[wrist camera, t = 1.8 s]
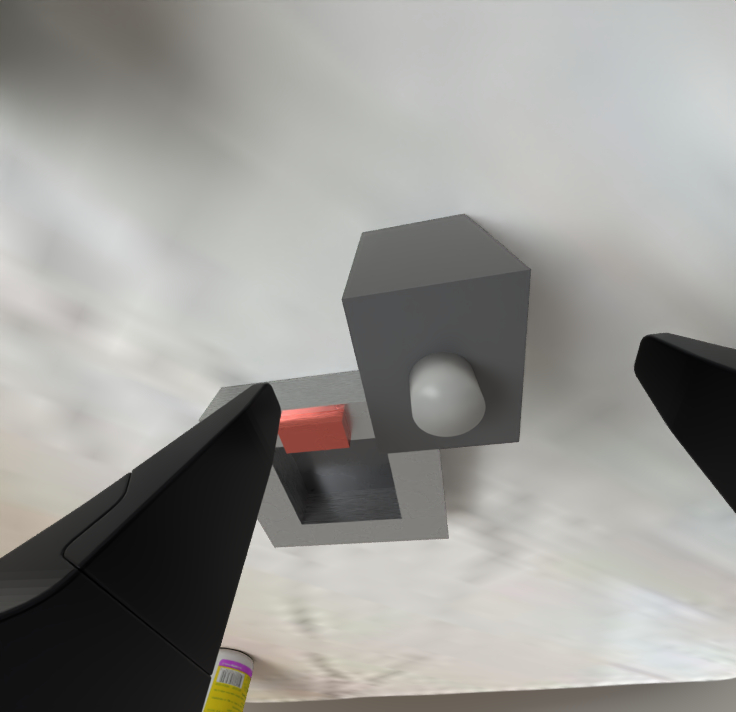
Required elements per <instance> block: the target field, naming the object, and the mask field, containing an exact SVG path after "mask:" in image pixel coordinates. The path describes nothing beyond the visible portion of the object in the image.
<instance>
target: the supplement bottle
mask: <svg viewBox="0 0 736 712" xmlns="http://www.w3.org/2000/svg"><path fill="white" fill-rule="evenodd" d="M253 666H254V664H253V661H252V659H251V658H250V657H248V656H247V655H245V654H244V653H241V652H238V651H235V650H229V649H220V650H219V653H218V656H217V660H216V663H215V667H214V670H213V674H212V675H211V682H210V685H209V689H208V692H207V696H206V699H205V703H204V706H203V710H202V712H243V708H244V704H245V700H246V696H247V692H248V688H249V684H250V680H251V676H252V672H253Z"/></svg>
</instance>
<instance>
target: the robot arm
mask: <svg viewBox="0 0 736 712" xmlns="http://www.w3.org/2000/svg"><path fill="white" fill-rule="evenodd" d="M634 371H635V374H636V377H637V378H638V380H639V381H640V383H641V385H642V386H643V388H644V389H645V391H646V393H647V394H648V396H649V397H650V399H651V401H652V402H653V404H654V405H655V407H656V409H657V410H658V412H659V414H660V415H661V417H662V418H663V420H664V421H665V423H666V424H667V426H668V427H669V429H670V430H671V432H672V433H673V434H674V436H675V437H676V438H677V440H678V441H679V442H680V444H681V445H682V446H683V447H684V449H685V450H686V451H687V452H688V454H689V455H690V456H691V458H692V459H693V460H694V461H695V463H696V464H697V465H698V466H699V468H700V469H701V470H702V471H703V473H704V474H705V475H706V477H707V478H708V479H709V480H710V482H711V483H712V484H713V485H714V487H715V488H716V489H717V490H718V492H719V493H720V494H721V496H722V497H723V498H724V499H725V501H726V502H727V503H728V504H729V506H730V507H731V508H732V509H733V511H734V512H735V513H736V349H731V348H727V347H723V346H719V345H715V344H711V343H707V342H703V341H699V340H695V339H691V338H687V337H683V336H679V335H675V334H670V333H658V334H650V335H646V336H645V337H643V338H642V340H641V342H640V346H639V350H638V353H637V357H636V360H635V364H634ZM280 418H281V407H280V404H279V402H278V399H277V397H276V395H275V392H274V390H273V388H272V386H271V384H269V383H267V382H266V383H258V384H253V385H252V386H250V387H249V388H247V389H246V390H245V391H243V392H242V393H240V394H239V395H238V396H236V397H235V398H233V399H232V400H231V401H229V402H228V403H226V404H225V405H224V406H222V407H221V408H219V409H218V410H216V411H215V412H214V413H212V414H211V415H209V416H208V417H207V418H205V419H204V420H202V421H201V422H200V423H198V424H197V425H195V426H194V427H193V428H191V429H190V430H188V431H187V432H185V433H184V434H183V435H181V436H180V437H178V438H177V439H176V440H174V441H173V442H171V443H170V444H169V445H167V446H166V447H164V448H163V449H162V450H160V451H159V452H157V453H156V454H155V455H153V456H152V457H150V458H149V459H147V460H146V461H145V462H143V463H142V464H140V465H139V466H138V467H136V468H135V469H133V470H132V473H128V474H126V475H125V476H123V477H122V478H121V479H119V480H118V481H116V482H115V483H114V484H112V485H111V486H109V487H108V488H106V489H105V490H103V491H102V492H101V493H99V494H98V495H96V496H95V497H93V498H92V499H90V500H89V501H88V502H86V503H85V504H83V505H82V506H80V507H79V508H77V509H75V510H74V511H72V512H71V513H69V514H68V515H66V516H65V517H63V518H62V519H60V520H59V521H57V522H56V523H54V524H53V525H51V526H50V527H48V528H46V529H45V530H43V531H42V532H40V533H39V534H37V535H36V536H34V537H33V538H31V539H29V540H28V541H26V542H25V543H23V544H22V545H20V546H19V547H17V548H15V549H14V550H12V551H11V552H9V553H8V554H6V555H5V556H3V557H2V558H0V712H202V710H203V706H204V703H205V699H206V696H207V692H208V689H209V685H210V682H211V675H212V674H213V670H214V667H215V663H216V660H217V656H218V653H219V650H220V646H221V643H222V639H223V636H224V632H225V629H226V625H227V622H228V618H229V615H230V611H231V608H232V604H233V601H234V597H235V594H236V590H237V587H238V583H239V580H240V576H241V573H242V569H243V566H244V562H245V559H246V556H247V552H248V549H249V545H250V542H251V538H252V535H253V531H254V528H255V524H256V521H257V517H258V514H259V510H260V507H261V503H262V500H263V496H264V493H265V489H266V486H267V482H268V479H269V475H270V472H271V468H272V464H273V459H274V453H275V447H276V442H277V436H278V430H279V424H280Z"/></svg>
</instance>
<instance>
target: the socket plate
mask: <svg viewBox="0 0 736 712" xmlns="http://www.w3.org/2000/svg"><path fill="white" fill-rule="evenodd" d="M264 383H266V382H264ZM267 383H269V384H271V386H272V388H273V390H274V392H275V395H276V397H277V399H278V402H279V404H280V407H281V418H280V424H279V430H278V436H277V442H276V447H275V453H274V459H273V464H272V468H271V472H270V475H269V479H268V482H267V486H266V489H265V493H264V496H263V500H262V503H261V507H260V510H259V514H258V517H257V519H258V521H259V522H260V524H261V526H262V527H263V529H264V531H265V532H266V534H267V536H268V537H269V539H270V541H271V542H272V544H273V546H274V547H293V546H313V545H332V544H351V543H371V542H390V541H409V540H429V539H448V538H449V535H448V526H447V516H446V507H445V498H444V488H443V479H442V469H441V460H440V450H439V449H435V450H423V451H412V452H401V453H390V454H379V452H378V448H377V443H376V439H375V435H374V431H373V427H372V423H371V419H370V414H369V410H368V406H367V402H366V398H365V394H364V389H363V385H362V381H361V377H360V373H359V371H352V372H344V373H336V374H328V375H320V376H312V377H304V378H296V379H288V380H280V381H272V382H267ZM256 384H258V383H256ZM252 385H253V384H248V385H240V386H232V387H225V388H221V389H220V390H219V392H218V393H217V395H216V396H215V397H214V399H213V400H212V402H211V403H210V405H209V406H208V407H207V409H206V410H205V412H204V413H203V414H202V416H201V417H200V419H199V422H201V421H202V420H204V419H205V418H207V417H208V416H209V415H211V414H212V413H214V412H215V411H216V410H218V409H219V408H221V407H222V406H224V405H225V404H226V403H228V402H229V401H231V400H232V399H233V398H235V397H236V396H238V395H239V394H240V393H242V392H243V391H245V390H246V389H247V388H249V387H250V386H252Z"/></svg>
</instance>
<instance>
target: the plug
mask: <svg viewBox="0 0 736 712" xmlns="http://www.w3.org/2000/svg"><path fill="white" fill-rule="evenodd" d="M530 274H531V269H530V268H529V267H528V266H526V265H525V264H524V263H523V262H522V261H520V260H519V259H518V258H517V257H516V256H514V255H513V254H512V253H511V252H510V251H508V250H507V249H506V248H505V247H504V246H502V245H501V244H500V243H499V242H498V241H496V240H495V239H494V238H493V237H492V236H490V235H489V234H488V233H487V232H486V231H484V230H483V229H482V228H481V227H480V226H478V225H477V224H476V223H475V222H474V221H473V220H471V219H470V218H469V217H468V216H467V215H465V214H460V215H455V216H449V217H444V218H438V219H433V220H428V221H422V222H417V223H411V224H406V225H401V226H395V227H390V228H384V229H379V230H374V231H368V232H363V233H362V235H361V238H360V241H359V245H358V248H357V251H356V254H355V258H354V261H353V264H352V267H351V271H350V274H349V277H348V280H347V284H346V287H345V290H344V293H343V297H342V302H343V307H344V311H345V315H346V319H347V323H348V327H349V331H350V336H351V340H352V344H353V348H354V352H355V356H356V360H357V365H358V369H359V373H360V377H361V381H362V385H363V389H364V394H365V398H366V402H367V406H368V410H369V414H370V419H371V423H372V427H373V431H374V435H375V439H376V443H377V448H378V452H379V454H390V453H401V452H412V451H423V450H435V449H446V448H457V447H468V446H479V445H490V444H501V443H512V442H519V436H520V421H521V407H522V392H523V377H524V363H525V348H526V333H527V319H528V304H529V289H530Z"/></svg>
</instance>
